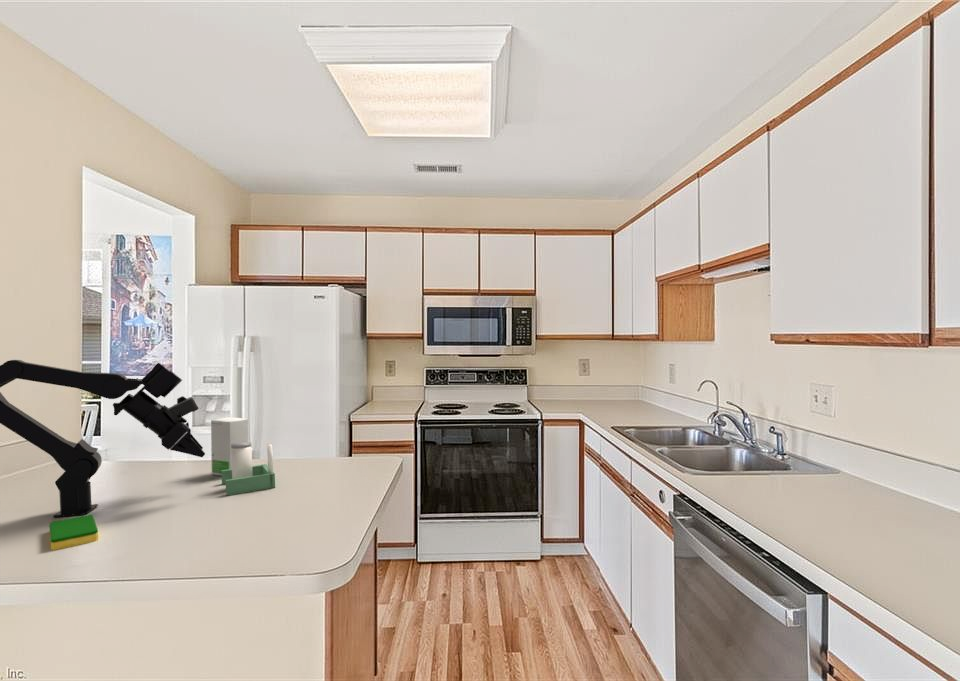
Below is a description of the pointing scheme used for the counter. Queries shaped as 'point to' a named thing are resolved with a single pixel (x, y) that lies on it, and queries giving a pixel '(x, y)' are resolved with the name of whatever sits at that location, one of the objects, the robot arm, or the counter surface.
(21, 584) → the counter surface
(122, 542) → the counter surface
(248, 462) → the ball tube
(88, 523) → the dish sponge
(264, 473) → the green u-shaped bracket
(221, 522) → the counter surface
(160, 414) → the robot arm
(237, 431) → the skincare box
